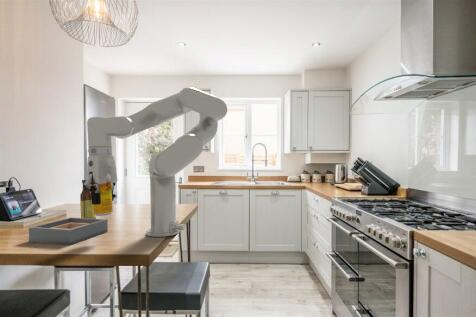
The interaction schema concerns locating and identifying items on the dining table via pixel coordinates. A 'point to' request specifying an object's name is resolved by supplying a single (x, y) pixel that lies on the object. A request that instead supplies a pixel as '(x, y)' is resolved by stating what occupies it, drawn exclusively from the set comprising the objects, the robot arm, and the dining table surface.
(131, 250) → the dining table surface
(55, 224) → the walled box
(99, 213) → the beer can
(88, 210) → the sauce bottle
